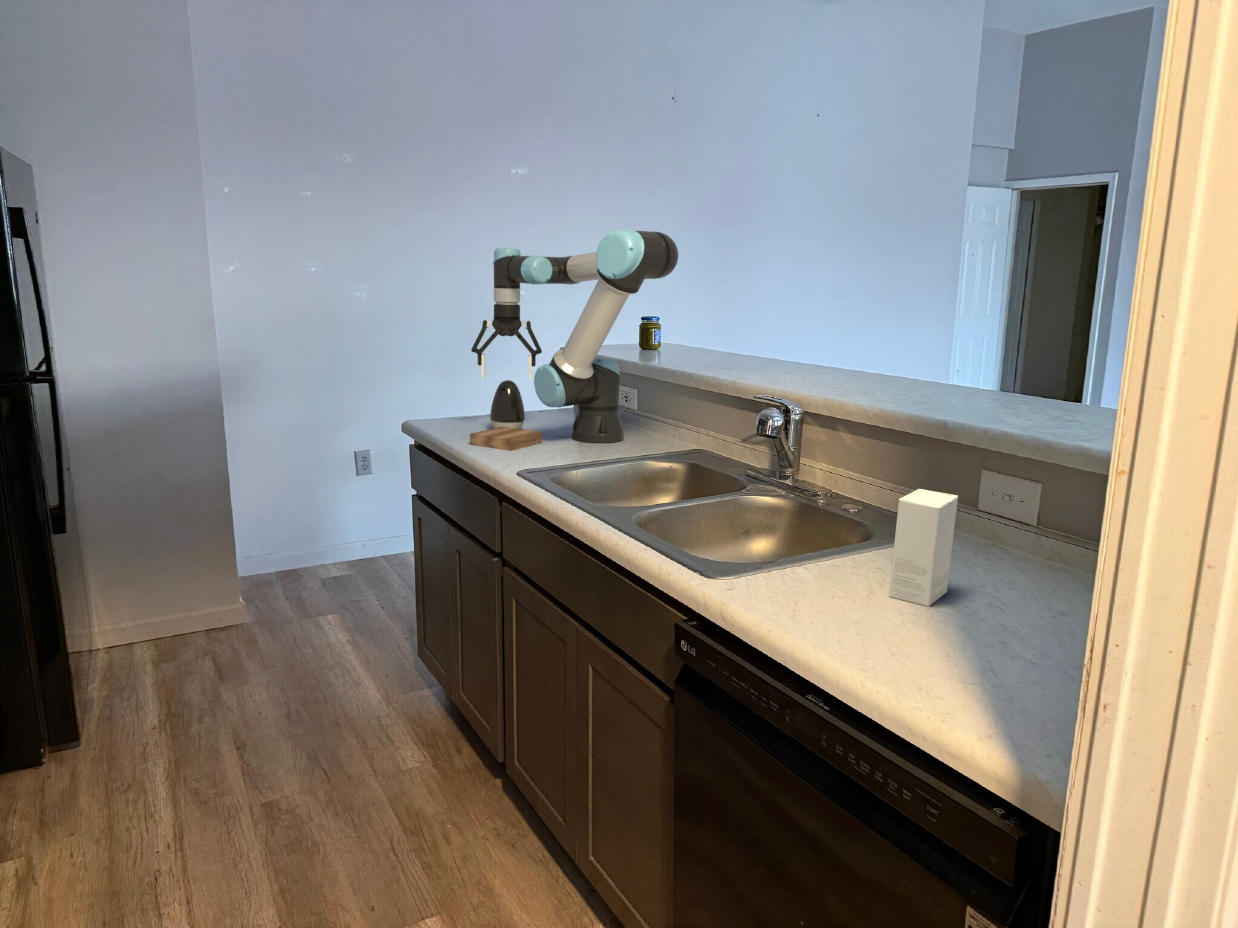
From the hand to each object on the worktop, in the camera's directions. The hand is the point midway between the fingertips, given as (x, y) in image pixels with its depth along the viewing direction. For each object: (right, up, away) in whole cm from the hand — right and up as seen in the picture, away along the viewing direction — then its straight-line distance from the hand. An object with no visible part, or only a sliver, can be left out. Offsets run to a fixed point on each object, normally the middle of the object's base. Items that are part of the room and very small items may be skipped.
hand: (506, 377), depth 260 cm
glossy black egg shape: (0, -16, +3) cm, 16 cm away
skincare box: (+78, -45, -125) cm, 154 cm away
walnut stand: (+2, -20, -15) cm, 25 cm away
